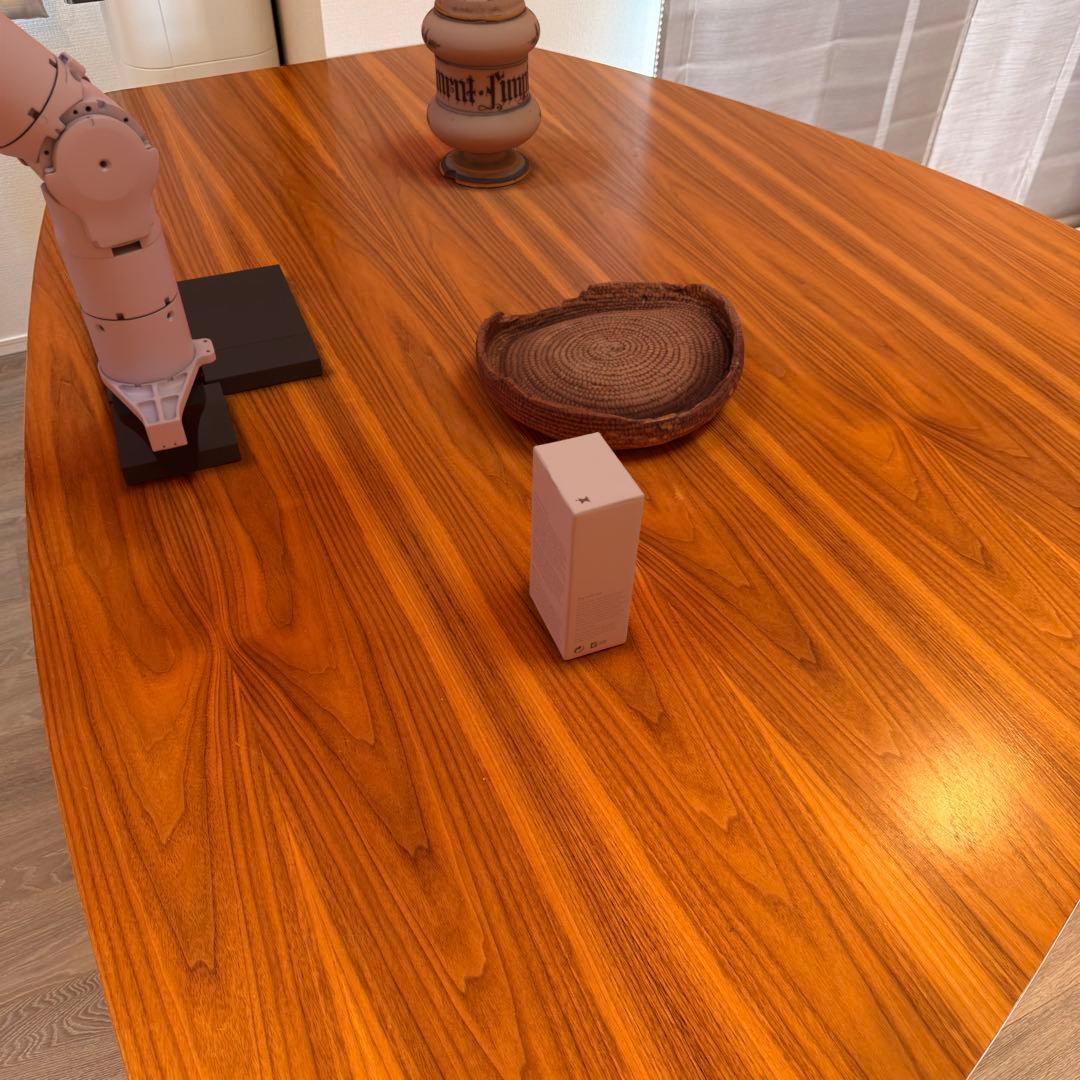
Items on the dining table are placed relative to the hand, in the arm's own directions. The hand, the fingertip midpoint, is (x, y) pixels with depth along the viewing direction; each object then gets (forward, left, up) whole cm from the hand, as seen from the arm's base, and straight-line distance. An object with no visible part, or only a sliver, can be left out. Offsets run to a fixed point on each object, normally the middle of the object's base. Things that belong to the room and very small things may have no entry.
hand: (182, 468), depth 68 cm
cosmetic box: (+20, -22, -1) cm, 30 cm away
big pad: (+4, +17, -1) cm, 18 cm away
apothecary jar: (+37, +41, -1) cm, 56 cm away
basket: (+33, 0, -1) cm, 34 cm away
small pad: (0, +7, -1) cm, 7 cm away
